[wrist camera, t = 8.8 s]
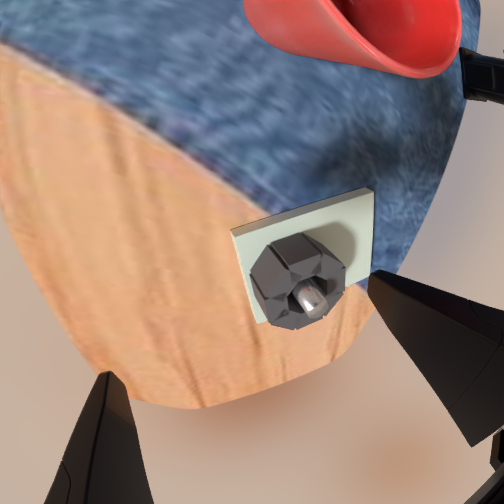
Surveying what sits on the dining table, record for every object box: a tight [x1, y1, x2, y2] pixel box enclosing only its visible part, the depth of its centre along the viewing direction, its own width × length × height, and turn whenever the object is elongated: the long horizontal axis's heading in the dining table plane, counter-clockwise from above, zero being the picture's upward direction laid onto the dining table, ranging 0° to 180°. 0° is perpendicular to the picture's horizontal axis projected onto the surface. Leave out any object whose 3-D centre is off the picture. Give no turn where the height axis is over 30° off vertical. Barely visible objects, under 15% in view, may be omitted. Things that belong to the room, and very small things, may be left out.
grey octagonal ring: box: [249, 232, 346, 330], centre depth 21 cm, size 6×6×3 cm
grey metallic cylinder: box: [291, 278, 328, 318], centre depth 21 cm, size 2×2×6 cm
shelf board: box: [230, 187, 374, 324], centre depth 23 cm, size 12×9×1 cm
